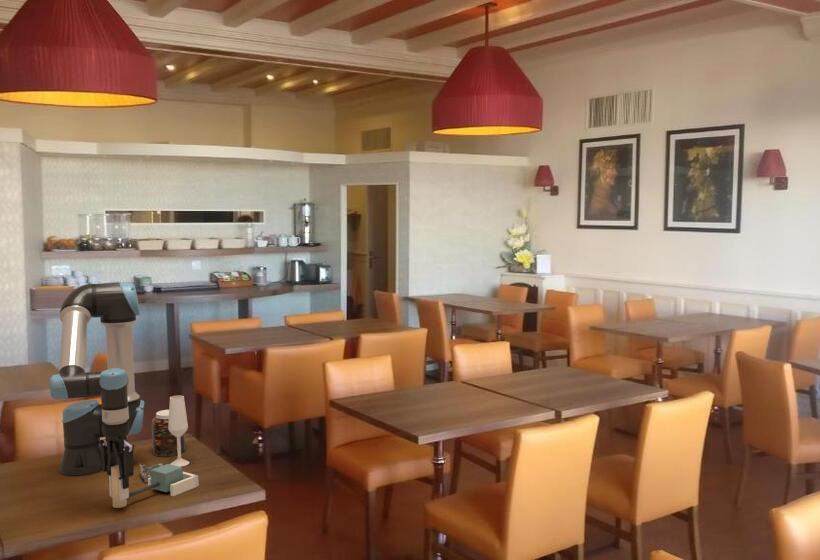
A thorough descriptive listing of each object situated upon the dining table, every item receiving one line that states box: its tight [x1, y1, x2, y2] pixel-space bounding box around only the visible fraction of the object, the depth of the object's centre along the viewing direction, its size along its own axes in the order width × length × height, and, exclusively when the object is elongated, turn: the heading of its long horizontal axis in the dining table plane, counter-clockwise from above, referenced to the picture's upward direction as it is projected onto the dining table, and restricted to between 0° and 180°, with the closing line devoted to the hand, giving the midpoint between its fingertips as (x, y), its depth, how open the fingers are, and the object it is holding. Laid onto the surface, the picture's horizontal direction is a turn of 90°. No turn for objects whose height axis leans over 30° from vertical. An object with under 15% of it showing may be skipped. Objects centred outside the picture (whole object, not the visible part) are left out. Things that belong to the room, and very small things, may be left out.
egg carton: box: [139, 463, 163, 483], centre depth 262 cm, size 11×8×4 cm
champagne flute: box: [168, 395, 190, 467], centre depth 275 cm, size 7×7×24 cm
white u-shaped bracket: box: [147, 471, 200, 497], centre depth 252 cm, size 12×10×4 cm
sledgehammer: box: [111, 463, 184, 509], centre depth 243 cm, size 7×24×12 cm, turn 147°
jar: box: [151, 409, 186, 458], centre depth 288 cm, size 12×12×15 cm
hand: (119, 496), depth 235 cm, fingers closed on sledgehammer, 4 cm apart
